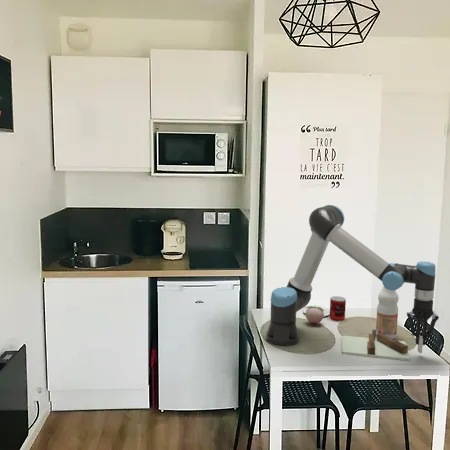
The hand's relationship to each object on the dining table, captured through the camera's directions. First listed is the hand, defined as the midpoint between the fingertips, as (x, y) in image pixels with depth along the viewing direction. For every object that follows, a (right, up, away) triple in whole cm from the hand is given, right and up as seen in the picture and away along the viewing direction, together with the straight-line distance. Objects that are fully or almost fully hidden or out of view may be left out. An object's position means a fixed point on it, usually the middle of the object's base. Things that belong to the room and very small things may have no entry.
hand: (419, 351), depth 222 cm
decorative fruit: (-39, +4, +39) cm, 55 cm away
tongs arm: (-10, 0, +8) cm, 12 cm away
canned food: (-25, +5, +48) cm, 54 cm away
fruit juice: (-7, +1, +23) cm, 25 cm away
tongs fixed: (-18, 0, +8) cm, 20 cm away
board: (-17, -1, +8) cm, 19 cm away
